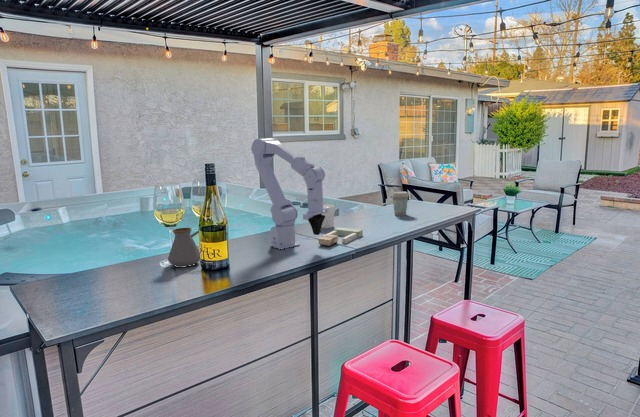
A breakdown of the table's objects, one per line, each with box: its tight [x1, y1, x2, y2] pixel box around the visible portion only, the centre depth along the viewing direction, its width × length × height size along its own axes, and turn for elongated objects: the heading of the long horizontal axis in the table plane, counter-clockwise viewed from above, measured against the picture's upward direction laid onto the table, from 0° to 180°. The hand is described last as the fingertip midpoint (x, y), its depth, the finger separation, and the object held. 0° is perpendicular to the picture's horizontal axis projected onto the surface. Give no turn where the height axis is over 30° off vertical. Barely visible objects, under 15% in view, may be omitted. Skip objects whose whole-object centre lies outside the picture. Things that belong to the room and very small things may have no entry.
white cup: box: [321, 204, 335, 229], centre depth 202 cm, size 8×8×10 cm
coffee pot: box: [167, 227, 201, 266], centre depth 154 cm, size 21×12×15 cm, turn 128°
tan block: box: [318, 234, 339, 248], centre depth 172 cm, size 7×5×3 cm
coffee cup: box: [391, 190, 409, 217], centre depth 223 cm, size 8×8×12 cm
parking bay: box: [321, 227, 363, 244], centre depth 181 cm, size 14×12×2 cm
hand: (316, 234), depth 164 cm, fingers closed
